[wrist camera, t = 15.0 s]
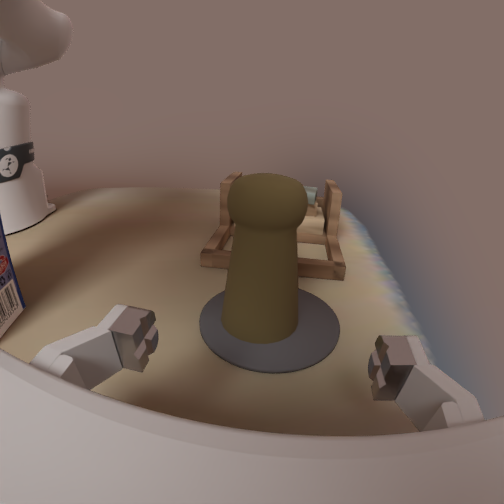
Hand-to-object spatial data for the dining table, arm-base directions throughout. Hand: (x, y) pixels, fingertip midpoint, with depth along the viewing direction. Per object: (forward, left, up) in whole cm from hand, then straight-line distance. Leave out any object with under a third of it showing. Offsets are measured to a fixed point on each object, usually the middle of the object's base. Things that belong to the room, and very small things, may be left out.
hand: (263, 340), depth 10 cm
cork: (-6, +9, -7) cm, 13 cm away
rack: (-15, +24, -8) cm, 29 cm away
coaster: (-6, +9, -8) cm, 13 cm away
